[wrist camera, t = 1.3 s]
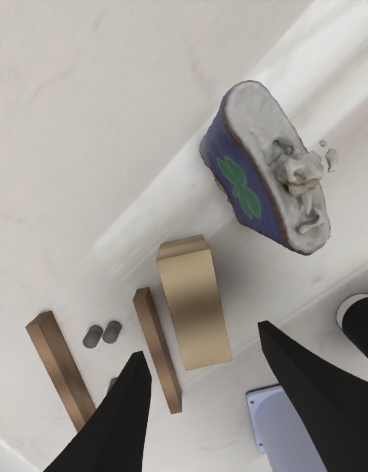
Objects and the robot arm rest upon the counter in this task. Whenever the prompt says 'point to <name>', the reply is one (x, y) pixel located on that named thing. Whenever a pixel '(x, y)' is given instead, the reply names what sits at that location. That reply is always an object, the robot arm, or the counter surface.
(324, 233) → the flask
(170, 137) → the counter surface
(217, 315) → the light wooden block
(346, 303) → the dixie cup
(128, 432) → the robot arm
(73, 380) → the peg frame
